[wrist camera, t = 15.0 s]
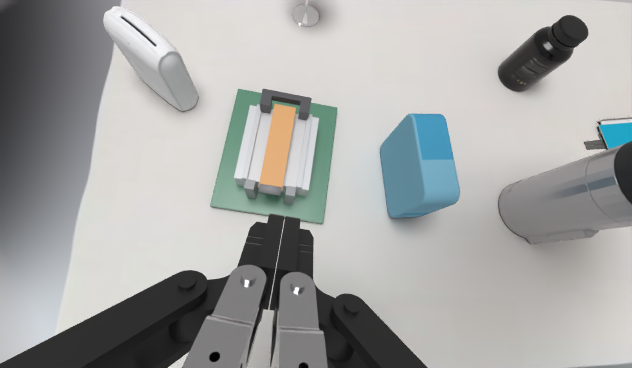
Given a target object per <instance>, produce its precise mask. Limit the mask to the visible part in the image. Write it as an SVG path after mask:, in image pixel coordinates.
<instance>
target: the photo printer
mask: <svg viewBox="0 0 632 368" xmlns="http://www.w3.org/2000/svg"><path fill="white" fill-rule="evenodd" d="M103 22H104V26H105V29H106V30H107V32H108V33H109V35H110V36H111V38H112V39H113V40H114V42H115V43H116V45H117V46H118V48H119V49H120V51H121V52H122V53H123V55H124V56H125V58H126V59H127V60H128V62H129V63H130V65H131V66H132V67H133V69H134V70H135V72H136V73H137V74H138V76H139V77H140V78H141V79H142V80H143V81H144V82H145V83H146V84H147V85H148V86H149V87H151V88H152V89H153V90H154V91H155V92H156V93H158V94H159V95H160V96H161V97H163V98H164V99H165V100H166V101H168V102H169V103H170V104H171V105H173V106H174V107H175V108H177V109H178V110H180V111H183V110H184V111H186V110H189V109H191V108H193V107H194V106H195V105H196V103H197V98H198V93H197V91H196V89H195V87H194V85H193V82H192V80H191V78H190V76H189V73H188V71H187V69H186V67H185V64H184V62H183V60H182V58H181V55H180V54H179V52H178V51H177V50H176V48H175V47H174V46H173V45H172V44H171V43H170V42H169V41H168V40H167V39H166V38H165V37H164V36H163V35H162V34H161V33H160V32H159V31H158V30H157V29H155V28H154V27H153V26H152V25H151V24H149V23H148V22H147V21H146V20H144V19H143V18H141V17H140V16H138V15H137V14H135V13H133V12H132V11H130V10H128V9H125V8H122V7H118V6H114V7H113V8H112V9H111V10H109V11H106V13H105V15H104V20H103Z"/></svg>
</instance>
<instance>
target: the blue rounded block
mask: <svg viewBox="0 0 632 368" xmlns="http://www.w3.org/2000/svg"><path fill="white" fill-rule="evenodd" d="M380 156H381V164H382V171H383V179H384V187H385V194H386V202H387V210H388V213H389V215H390V216H391V217H392V218H401V217H420V216H423V215H425V214H428V213H431V212H434V211H436V210H439V209H442V208H445V207H448V206H450V205H453V204H455V203H456V202H457V201H458V199H459V195H460V188H459V183H458V178H457V173H456V168H455V163H454V158H453V153H452V148H451V143H450V138H449V133H448V128H447V123H446V119H445V117H444V116H443V115H441V114H408V115H407V116H406V117H405V118H404V119H403V120H402V121H401V123H400V124H399V125H398V126H397V127H396V128H395V130H394V131H393V132H392V133H391V134H390V135H389V137H388V138H387V139H386V140H385V141H384V142H383V144H382V145H381V150H380Z"/></svg>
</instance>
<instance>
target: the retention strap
mask: <svg viewBox="0 0 632 368" xmlns="http://www.w3.org/2000/svg"><path fill="white" fill-rule="evenodd" d="M295 112H296V108H295V107H290V106H284V105H279V104H274V109H273V115H272V120H271V125H270V130H269V135H268V141H267V146H266V151H265V156H264V161H263V166H262V172H261V177H260V182H259V192H261V193H267V194H273V195H279V196H280V195H281V192H282V188H283V182H284V176H285V170H286V164H287V159H288V153H289V147H290V141H291V135H292V129H293V123H294V117H295Z"/></svg>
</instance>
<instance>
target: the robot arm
mask: <svg viewBox="0 0 632 368" xmlns="http://www.w3.org/2000/svg"><path fill="white" fill-rule="evenodd" d="M499 211H500V214H501V217H502V219H503V221H504V222H505V224H506V225H507V226H508V228H510V229H511V230H512V231H513V232H514V233H516V234H517V235H519V236H522V237H524V238H526V239H527V240H528V241H529V243H531V244H532V243H542V242H552V241H562V240H572V239H581V238H590V237H592V236H594V235H595V234H596V233H597V232H598V231H599V230H604V229H612V228H621V227H629V226H632V141H631V142H628V143H625V144H622V145H620V146H617V147H614V148H611V149H608V150H606V151H603V152H600V153H597V154H594V155H592V156H589V157H586V158H583V159H580V160H578V161H575V162H572V163H569V164H566V165H564V166H561V167H558V168H555V169H552V170H550V171H547V172H544V173H541V174H538V175H536V176H533V177H530V178H527V179H524V180H521V181H518V182H516V183H513V184H511V185H509V186H507V187H506V188H505V189H504V190H503V191H502V193H501V195H500V198H499ZM283 221H284V216H283V215H277V214H271V213H270V214H269V218H268V222H267V223H261V222H256V223H255V224H254V225H253V226H252V227H251V228H250V230H249V233H248V237H247V239H246V243H245V245H244V248H243V251H242V254H241V257H240V260H239V263H238V266H237V268H236V269H234V270H233V271H232V273H231V274H230V275H228V276H226V277H224V278H220V279H212V280H207V278H206V277H205V276H204V275H203V274H202V273H200V272H198V271H193V270H188V271H182V272H179V273H177V274H175V275H173V276H171V277H169V278H167V279H165V280H163V281H161V282H159V283H157V284H155V285H153V286H151V287H149V288H147V289H145V290H143V291H142V292H140V293H138V294H136V295H134V296H132V297H130V298H128V299H126V300H124V301H122V302H120V303H118V304H116V305H114V306H112V307H110V308H108V309H106V310H104V311H102V312H100V313H99V314H97V315H95V316H93V317H91V318H89V319H87V320H85V321H83V322H81V323H79V324H77V325H75V326H73V327H71V328H69V329H67V330H65V331H63V332H61V333H59V334H57V335H56V336H54V337H52V338H50V339H48V340H46V341H44V342H42V343H40V344H38V345H36V346H34V347H32V348H30V349H28V350H27V351H24V352H23V353H20V354H18V355H16V356H15V357H13V358H11V359H9V360H7V361H5V362H3V363H1V364H0V368H168V367H169V366H170V365H172V364H173V363H174V362H176V361H177V360H178V359H180V358H181V357H182V356H184V355H185V354H186V353H188V352H189V351H190V352H189V354H188V356H187V358H186V360H185V362H184V365H183V367H182V368H247V366H248V362H249V359H250V355H251V352H252V348H253V344H254V341H255V337H256V334H257V330H258V326H259V323H260V321H261V318H262V313H263V309H267V310H268V307H269V301H270V296H271V290H272V285H273V279H274V274H275V268H276V262H277V257H278V262H277V268H276V274H275V280H274V286H273V292H272V298H271V304H270V310H274V317H273V323H272V328H271V341H270V356H269V368H427V367H426V366H425V365H424V364H423V363H422V361H421V360H420V359H419V358H418V357H417V356H416V355H415V354H414V353H413V352H412V351H411V350H410V349H409V348H408V347H407V346H406V345H405V344H404V343H403V342H402V341H401V340H400V339H399V338H398V337H397V335H396V334H395V333H394V332H393V331H392V330H391V329H390V328H389V327H388V326H387V325H386V324H385V323H384V322H383V321H382V320H381V319H380V318H379V317H378V316H377V315H376V314H375V313H374V312H373V311H372V309H371V308H370V307H369V306H368V305H367V304H366V303H365V302H364V301H363V300H362V299H360V298H359V297H357V296H355V295H352V294H341V295H339V296H337V297H336V298H334V297H331V296H329V295H327V294H325V293H323V292H322V291H320V290H319V289H318V288H317V287H316V285H315V283H314V281H313V236H312V234H311V232H310V231H309V230H304V229H300V218H295V217H289V216H286V217H285V223H284V228H283V234H282V239H281V233H282V227H283ZM280 239H281V245H280ZM279 245H280V250H279ZM278 251H279V256H278Z"/></svg>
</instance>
